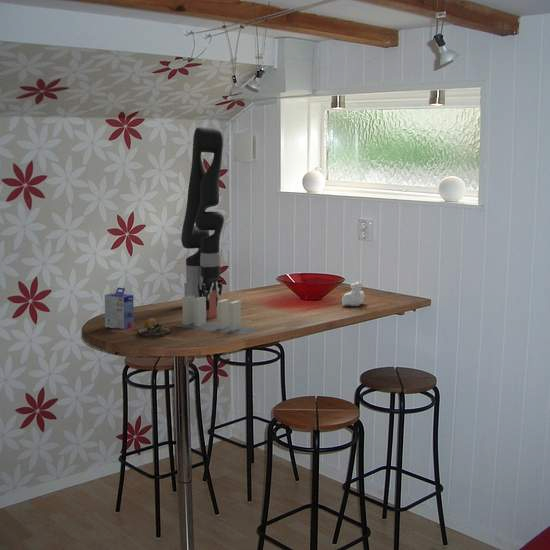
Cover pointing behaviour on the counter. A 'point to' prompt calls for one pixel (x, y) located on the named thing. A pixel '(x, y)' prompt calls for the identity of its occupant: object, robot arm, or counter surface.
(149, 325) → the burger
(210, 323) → the mat
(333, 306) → the counter surface
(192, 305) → the domino
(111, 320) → the ink cartridge box
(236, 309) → the domino
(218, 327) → the domino
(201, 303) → the domino
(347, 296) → the duck figurine
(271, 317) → the counter surface
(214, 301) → the red domino
